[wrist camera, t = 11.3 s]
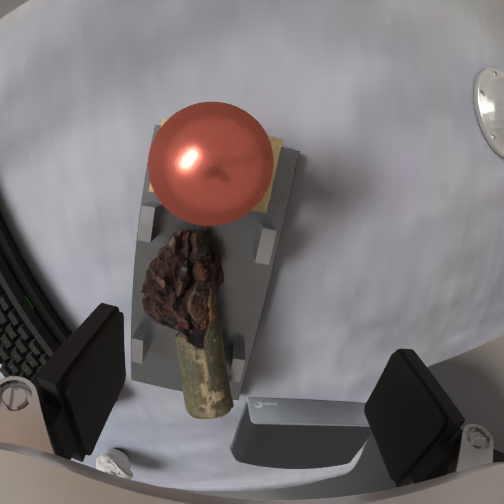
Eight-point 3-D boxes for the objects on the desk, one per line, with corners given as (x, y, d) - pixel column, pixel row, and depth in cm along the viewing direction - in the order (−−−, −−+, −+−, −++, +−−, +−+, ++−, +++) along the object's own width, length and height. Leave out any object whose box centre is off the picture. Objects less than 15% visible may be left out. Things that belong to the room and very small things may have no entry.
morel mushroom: (237, 396, 29) (224, 431, 23) (178, 389, 30) (157, 419, 24) (227, 224, 26) (206, 230, 20) (158, 227, 27) (125, 233, 22)
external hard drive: (248, 390, 34) (249, 413, 30) (380, 399, 36) (390, 417, 32) (228, 447, 37) (228, 468, 33) (344, 452, 39) (350, 470, 35)
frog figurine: (146, 459, 37) (138, 491, 31) (118, 463, 38) (108, 492, 31) (121, 438, 36) (110, 471, 29) (94, 443, 37) (82, 472, 30)
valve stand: (298, 143, 26) (336, 129, 15) (238, 393, 33) (239, 465, 23) (160, 118, 25) (115, 91, 14) (134, 373, 32) (106, 438, 22)
